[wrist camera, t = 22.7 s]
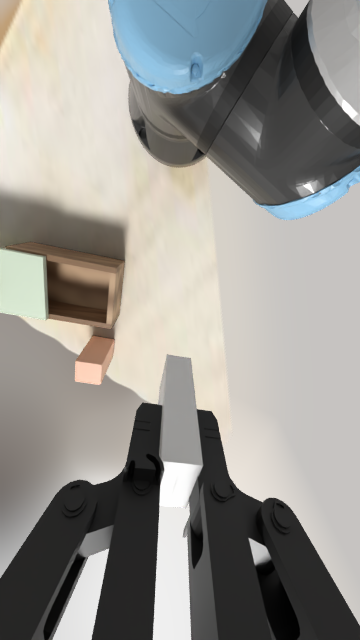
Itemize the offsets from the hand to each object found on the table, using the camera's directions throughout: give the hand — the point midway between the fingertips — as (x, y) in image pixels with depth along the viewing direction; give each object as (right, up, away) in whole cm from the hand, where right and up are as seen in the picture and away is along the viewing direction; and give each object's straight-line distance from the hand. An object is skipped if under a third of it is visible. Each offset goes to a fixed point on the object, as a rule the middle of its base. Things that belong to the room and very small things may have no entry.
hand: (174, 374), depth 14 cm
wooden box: (-21, +12, +32) cm, 40 cm away
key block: (-18, -3, +39) cm, 43 cm away
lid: (-32, +10, +24) cm, 41 cm away
